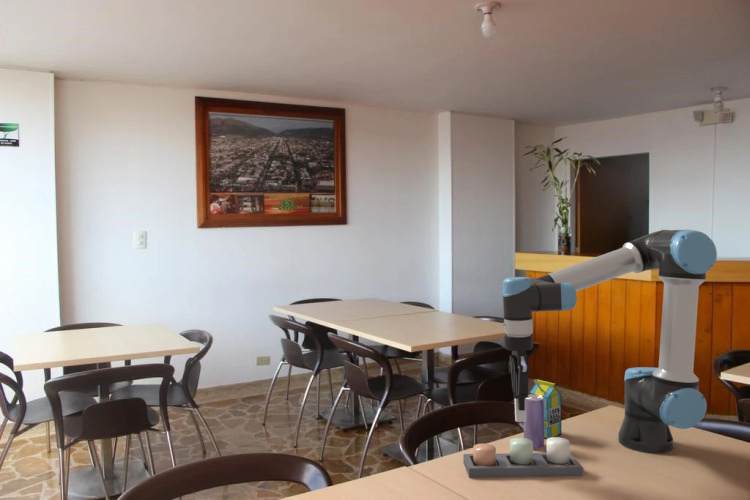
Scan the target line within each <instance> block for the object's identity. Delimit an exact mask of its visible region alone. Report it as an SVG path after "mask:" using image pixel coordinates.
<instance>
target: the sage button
mask: <svg viewBox="0 0 750 500" xmlns="http://www.w3.org/2000/svg"><path fill="white" fill-rule="evenodd" d="M509 453H510V460H511V461H512V462H514V463H518V464H517V465H530V464H529V463H531V462H532V461H533V453H534V449H533V442H532V441H531V440H530V439H526V438H524V437H513V438H511V439H509Z"/></svg>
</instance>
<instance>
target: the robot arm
mask: <svg viewBox="0 0 750 500" xmlns="http://www.w3.org/2000/svg"><path fill="white" fill-rule="evenodd" d="M717 255H718V253H717V247H716V245H715V243H714V241H713V240H712V238H710V237H709V235H707V234H706V233H704V232H702V231H700V230H694V229H693V230H692V229H666V230H665V229H661V230H657V231H654V232H652V233H648V234H646V235H642V236H641V237H639V238H635V239H634V240H630V241H628V242H625V243H624V244H623V245H622V247H620V248H618V249H616V250H612V251H610V252H606V253H604V254H601V255H598V256H596V257H592V258H589V259H587V260H583V261H581V262H579V263H576V264H573V265H570V266H567V267H565V268H561V269H559V270H556V271H554V272H550V273H547V274H544V275H542V276H538V277H537V278H534V277H531V278H530V277H528V276H527V277H526V276H510V277H506V278H505V279H503V282H502V294H501V295H502V304H503V305H502V306H503V322H502V323H501V326H502V327H503V332H504V334H505V335H504V336H503V337H504V338H503V340H504V343H503V344H504V349H505V350H507V351H511V354H510V355H509V357H508V358H509V364H510V375H511V390H512V392H513V399H514V418H515V419H514V421H515V422H516V423H520V422H523V423H524V422H526V398H528V395H529V381H530V380H529V378H530V377H529V374H530V368H531V366H530V364H528V363H529V359H528V356H527V353H526V352H527V351H531V350H532V349H533V348H534V339H533V338H534V337H533V335H532V334H533V333H534V331H533V330H534V329H533V328H534V324H533V313H538V312H553V311H554V312H555V311H556V312H557V311H559V312H560V311H561V312H563V311H568V310H573V309H574V308H575V307H576V305H577V302H578V301H577V297H578V295H577V292H578V291H581V290H584V289H587V288H591V287H593V286H596V285H599V284H601V283H604V282H606V281H610V280H612V279H615V278H617V277H621V276H624V275H627V274H629V273H634V274H640V273H642V272H646V271H652V270H653V271H654V270H658V278H659V279H660V280H661V281H662V283H663V292H662V293H663V294H662V295H663V297H662V312H661V325H660V326H661V327H660V338H659V339H660V340H659V341H660V343H659V353H658V354H659V356H658V358H659V360H658V367H647V366H644V367H640V366H639V367H630V368H627V369H626V370H625V372H624V380H623V381H624V417H623V420H622V423H621V425H620V428H619V431H618V438H617V439H618V443H620V444H621V445H622V446H624V447H626V448H627V449H631V450H634V451H637V452H638V451H639V452H644V453H645V452H646V453H651V454H652V453H654V454H655V453H656V454H657V453H668V452H670V451H672V450H673V449H674V437H673V435H672V432H671V429H670V427H673V428H676V429H680V430H685V429H687V430H688V429H690V428H693V427H695V426H697V424H698V423H700V422H701V421H702V420H703V418H704V417H705V415H706V412H707V409H708V408H707V405H708V404H707V401H706V397H705V396H704V395H703V394H702V393H701V392H700V391H699V388H700V387H699V386H700V382H699V381H700V378H699V377H698V376H697V375H696V374H695V373H694V364H695V363H694V362H695V351H696V338H697V337H696V336H697V318H698V304H699V287H700V286H701V285H702V284H703V283H704V282H705V281H706V280H707V273H708V272H710V270H711V269H712V268H713V267H714V265H715V264H716V262H717V257H718V256H717Z"/></svg>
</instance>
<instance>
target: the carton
mask: <svg viewBox="0 0 750 500" xmlns="http://www.w3.org/2000/svg"><path fill="white" fill-rule="evenodd" d="M533 382H534V385H533V387H532V388H531V390H530V391H529V392H528V395H530V394H534V395H540V396H542V397H543V399H544V440H547V439H548V438H551V437H560V436H562V393H561V392H560V391H559V389H557V388H556V383H553V382H550V381H546V380H545V381H544V380H541V379H533Z"/></svg>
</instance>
